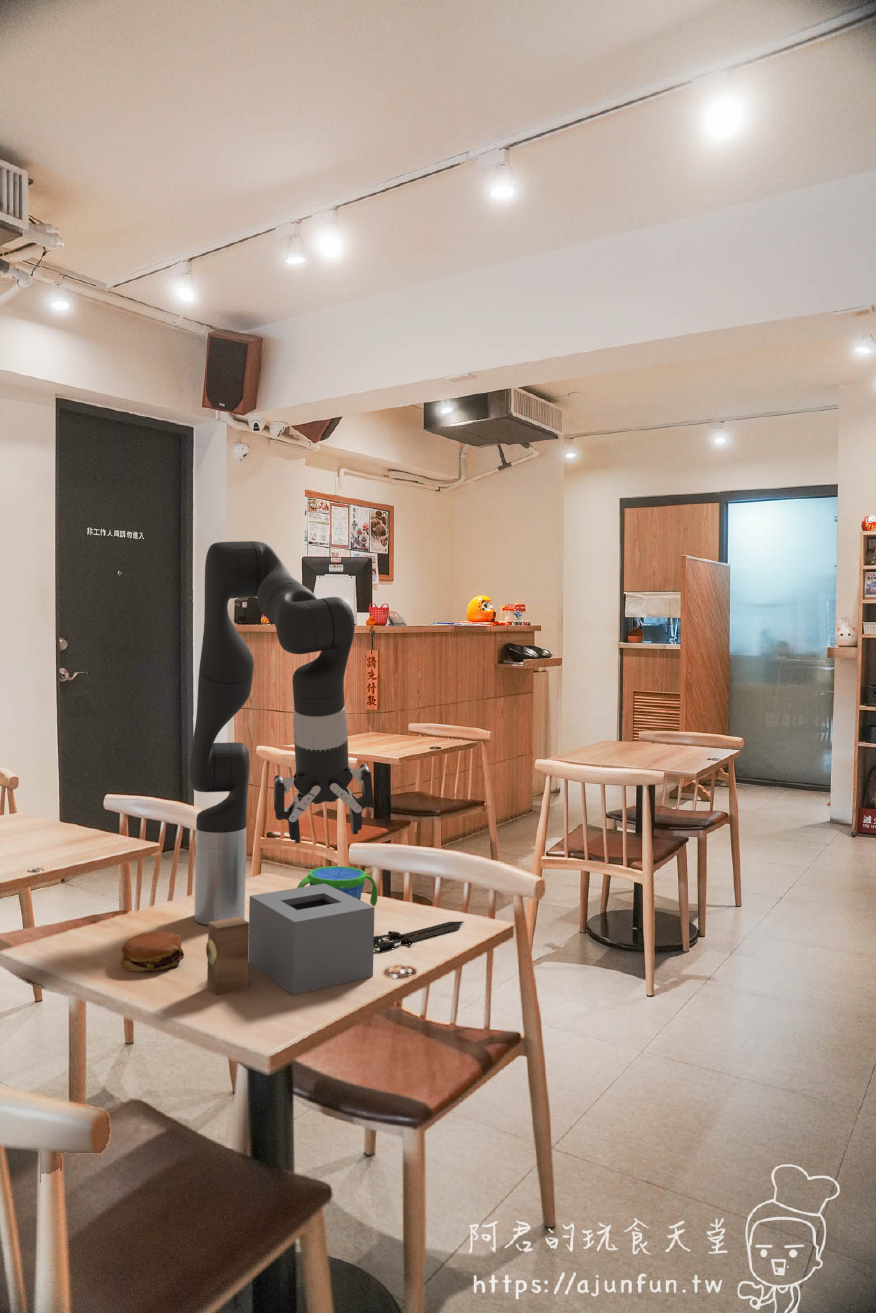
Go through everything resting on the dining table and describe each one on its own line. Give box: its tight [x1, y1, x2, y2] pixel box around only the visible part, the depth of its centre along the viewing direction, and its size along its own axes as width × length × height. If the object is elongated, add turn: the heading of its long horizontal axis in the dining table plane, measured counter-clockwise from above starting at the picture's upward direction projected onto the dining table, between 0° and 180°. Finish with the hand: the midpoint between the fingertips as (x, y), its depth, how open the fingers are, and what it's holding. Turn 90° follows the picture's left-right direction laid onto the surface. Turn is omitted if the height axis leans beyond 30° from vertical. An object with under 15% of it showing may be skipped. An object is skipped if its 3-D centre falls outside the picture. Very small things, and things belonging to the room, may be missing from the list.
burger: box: [120, 931, 185, 973], centre depth 143 cm, size 10×9×5 cm
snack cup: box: [296, 865, 379, 907], centre depth 163 cm, size 16×10×10 cm
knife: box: [374, 920, 465, 953], centre depth 159 cm, size 25×6×1 cm, turn 127°
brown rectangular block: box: [205, 917, 249, 996], centre depth 134 cm, size 4×5×10 cm
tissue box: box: [248, 884, 375, 996], centre depth 142 cm, size 16×14×11 cm
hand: (325, 836), depth 130 cm, fingers open, 8 cm apart
